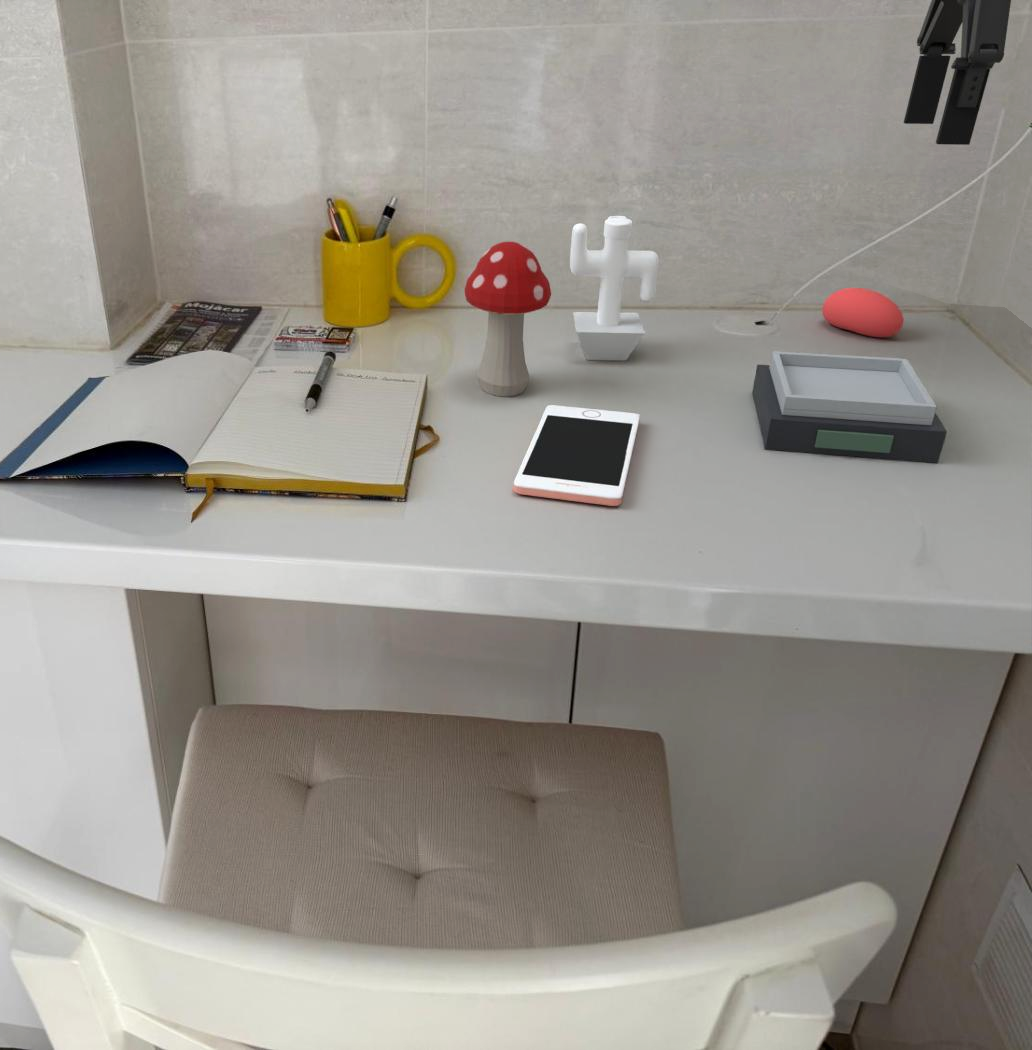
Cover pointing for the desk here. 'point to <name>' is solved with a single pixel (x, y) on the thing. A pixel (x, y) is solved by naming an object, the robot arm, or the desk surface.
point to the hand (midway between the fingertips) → (934, 133)
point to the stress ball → (863, 312)
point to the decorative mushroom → (506, 312)
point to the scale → (846, 407)
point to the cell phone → (579, 455)
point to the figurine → (611, 289)
